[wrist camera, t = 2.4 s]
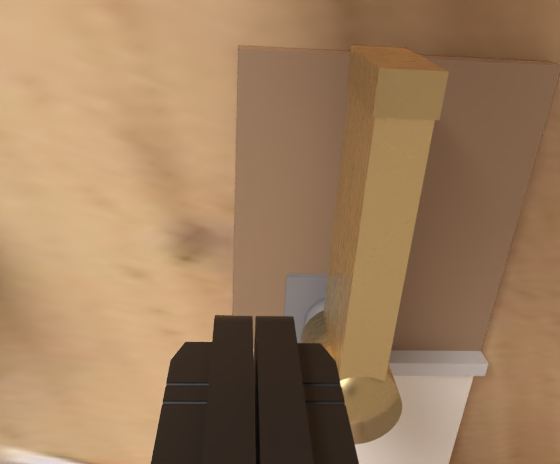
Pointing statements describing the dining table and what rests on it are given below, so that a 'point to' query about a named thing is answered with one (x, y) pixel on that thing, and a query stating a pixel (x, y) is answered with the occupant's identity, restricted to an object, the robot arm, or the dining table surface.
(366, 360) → the swing bar
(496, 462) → the dining table surface
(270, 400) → the robot arm
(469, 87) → the door mockup
